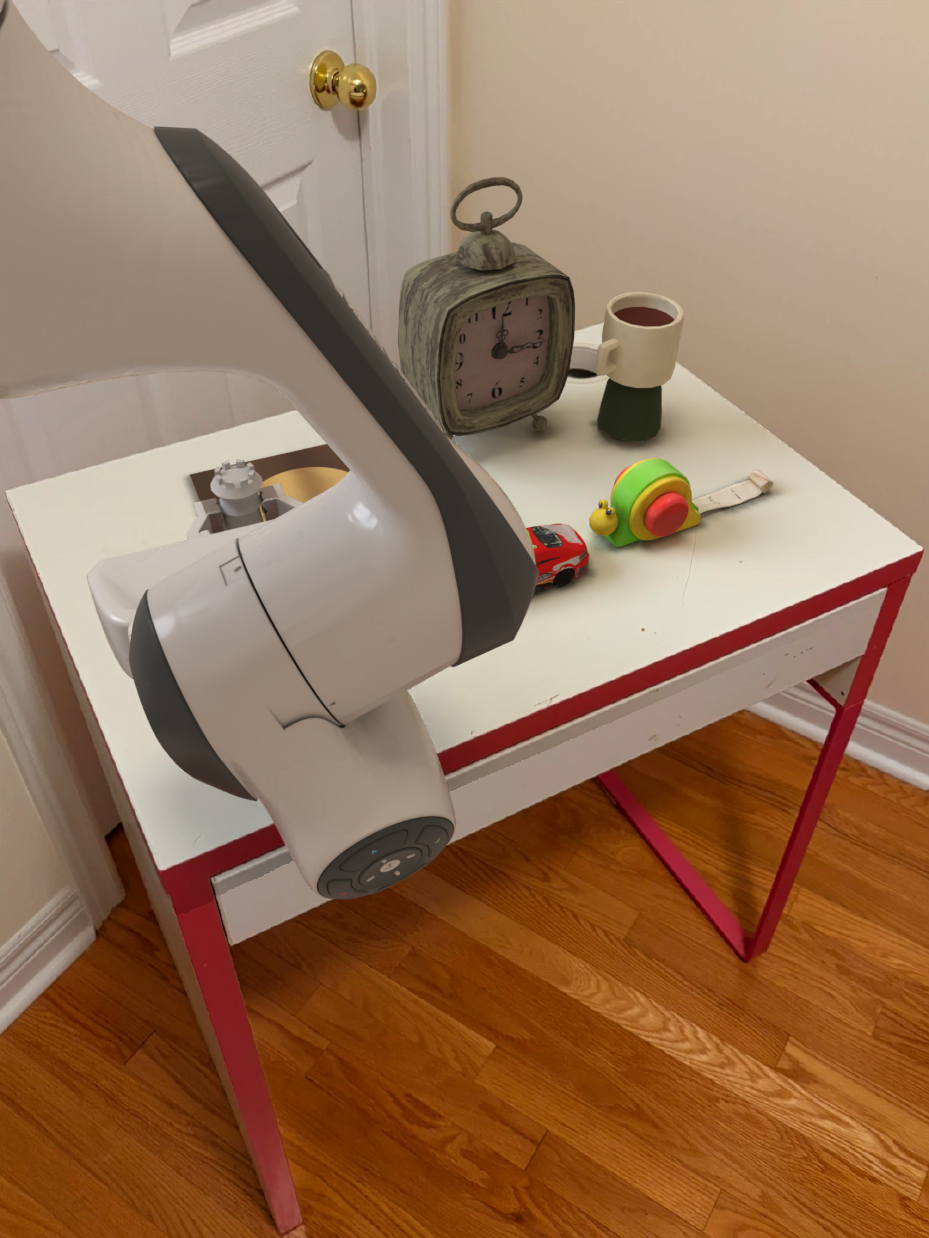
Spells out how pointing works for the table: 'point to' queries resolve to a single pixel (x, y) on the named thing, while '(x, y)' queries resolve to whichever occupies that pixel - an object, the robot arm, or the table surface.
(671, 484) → the toy measuring tape
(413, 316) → the tabletop clock
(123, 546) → the table surface
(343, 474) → the brown flat square panel
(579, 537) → the race car
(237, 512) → the rook chess piece
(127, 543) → the table surface
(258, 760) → the robot arm
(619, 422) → the cream coffee mug
